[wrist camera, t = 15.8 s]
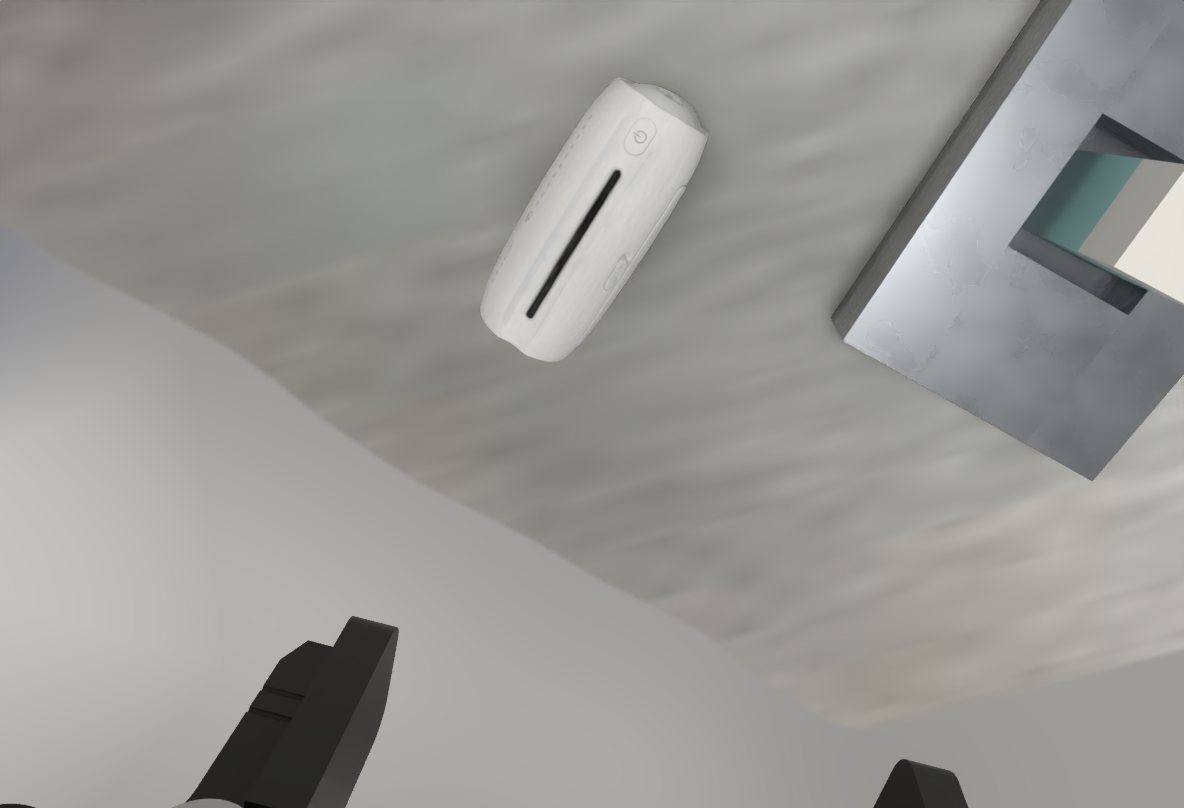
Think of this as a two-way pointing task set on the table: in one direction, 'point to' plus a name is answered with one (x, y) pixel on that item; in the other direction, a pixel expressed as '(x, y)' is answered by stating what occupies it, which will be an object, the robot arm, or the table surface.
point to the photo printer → (592, 218)
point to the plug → (1119, 218)
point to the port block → (1036, 242)
